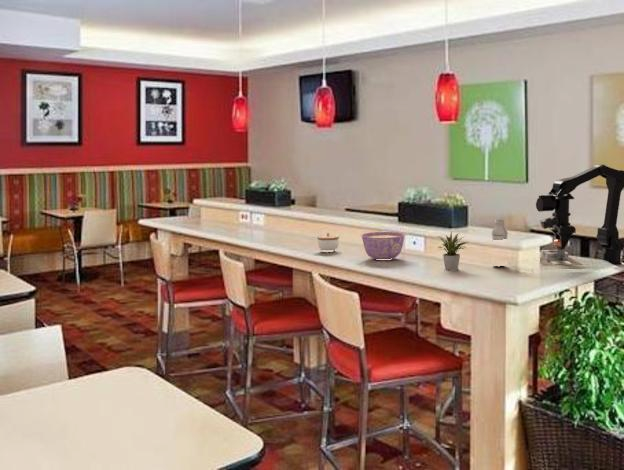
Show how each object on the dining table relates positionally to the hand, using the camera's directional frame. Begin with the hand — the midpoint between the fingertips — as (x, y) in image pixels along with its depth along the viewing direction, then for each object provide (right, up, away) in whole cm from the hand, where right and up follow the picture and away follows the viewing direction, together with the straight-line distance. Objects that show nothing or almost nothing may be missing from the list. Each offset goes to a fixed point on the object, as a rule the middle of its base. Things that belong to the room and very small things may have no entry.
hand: (561, 247), depth 291 cm
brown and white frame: (+1, -7, +6) cm, 10 cm away
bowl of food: (-71, -6, +31) cm, 78 cm away
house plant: (-46, -10, +2) cm, 47 cm away
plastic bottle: (-25, -9, +5) cm, 27 cm away
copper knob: (0, -5, +1) cm, 5 cm away
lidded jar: (-96, -3, +58) cm, 112 cm away
